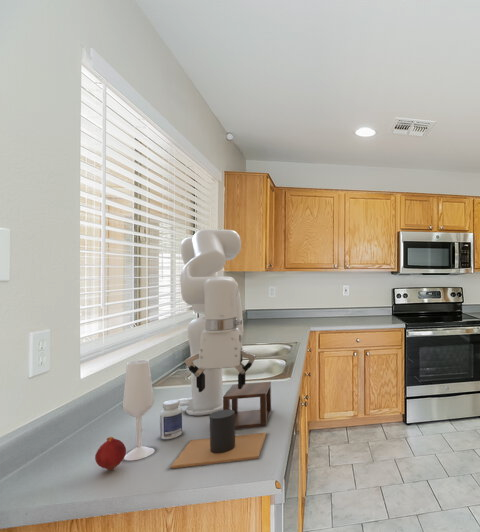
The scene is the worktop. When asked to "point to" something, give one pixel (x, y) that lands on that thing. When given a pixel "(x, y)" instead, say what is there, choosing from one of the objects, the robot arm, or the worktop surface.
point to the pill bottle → (171, 420)
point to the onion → (110, 453)
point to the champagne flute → (138, 402)
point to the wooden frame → (253, 416)
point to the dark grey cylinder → (222, 431)
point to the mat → (201, 454)
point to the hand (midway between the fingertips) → (221, 388)
